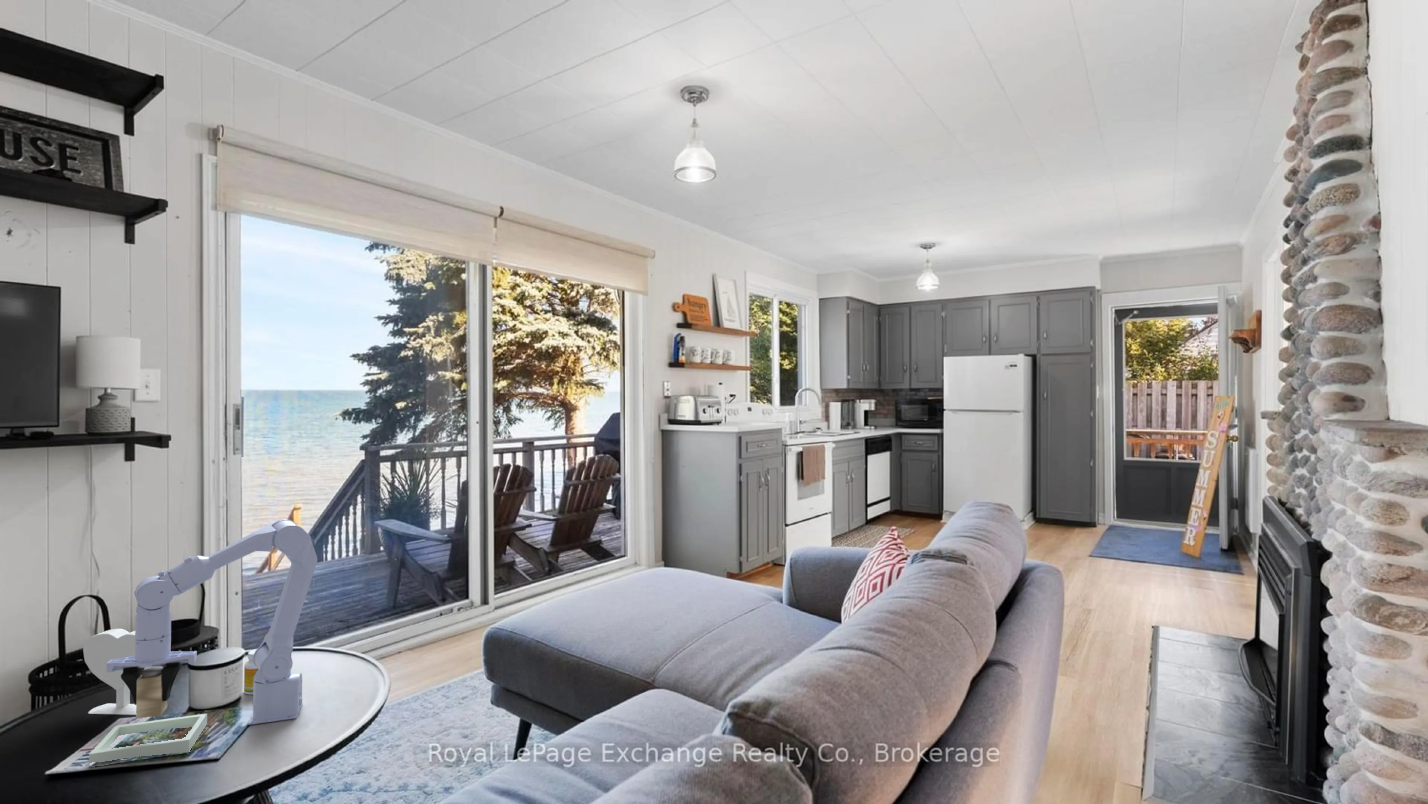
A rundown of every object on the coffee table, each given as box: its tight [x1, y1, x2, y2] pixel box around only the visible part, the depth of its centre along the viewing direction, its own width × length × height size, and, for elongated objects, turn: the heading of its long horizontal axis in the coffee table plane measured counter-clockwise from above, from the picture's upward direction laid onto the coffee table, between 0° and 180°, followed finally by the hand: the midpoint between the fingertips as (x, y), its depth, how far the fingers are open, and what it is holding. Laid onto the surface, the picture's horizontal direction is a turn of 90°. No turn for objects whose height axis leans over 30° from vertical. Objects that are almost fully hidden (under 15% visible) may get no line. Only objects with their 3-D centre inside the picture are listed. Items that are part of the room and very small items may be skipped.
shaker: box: [135, 666, 169, 719], centre depth 140 cm, size 4×4×9 cm
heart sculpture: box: [82, 628, 156, 716], centre depth 156 cm, size 16×5×18 cm, turn 90°
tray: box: [88, 713, 208, 764], centre depth 140 cm, size 16×12×3 cm
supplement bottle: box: [243, 648, 258, 695], centre depth 167 cm, size 5×5×10 cm
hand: (152, 700), depth 140 cm, fingers closed on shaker, 4 cm apart
